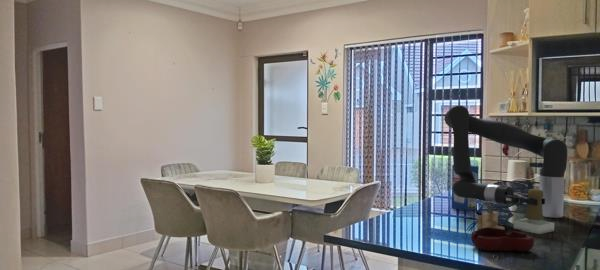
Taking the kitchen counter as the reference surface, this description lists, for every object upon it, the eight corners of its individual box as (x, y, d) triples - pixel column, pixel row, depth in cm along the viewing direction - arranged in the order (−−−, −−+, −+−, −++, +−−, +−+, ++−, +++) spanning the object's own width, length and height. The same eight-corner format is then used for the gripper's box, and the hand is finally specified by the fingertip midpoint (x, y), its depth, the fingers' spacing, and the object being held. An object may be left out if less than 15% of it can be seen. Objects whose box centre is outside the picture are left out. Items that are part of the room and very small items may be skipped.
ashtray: (512, 241, 159) (512, 227, 159) (538, 255, 143) (538, 239, 143) (460, 241, 159) (460, 226, 158) (480, 255, 142) (480, 238, 142)
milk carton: (451, 207, 219) (452, 164, 219) (461, 206, 222) (462, 164, 221) (467, 211, 210) (468, 166, 210) (477, 210, 213) (478, 166, 212)
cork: (545, 220, 172) (547, 190, 172) (527, 219, 173) (529, 189, 173) (540, 217, 178) (542, 188, 178) (523, 216, 179) (524, 187, 179)
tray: (528, 225, 183) (528, 217, 183) (554, 230, 175) (554, 222, 175) (513, 228, 178) (513, 220, 177) (539, 234, 169) (539, 225, 169)
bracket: (493, 226, 181) (493, 202, 181) (505, 228, 177) (506, 205, 176) (477, 228, 176) (478, 204, 175) (490, 231, 171) (491, 207, 171)
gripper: (488, 186, 184) (530, 193, 169) (510, 184, 192) (552, 190, 177) (487, 205, 184) (529, 214, 170) (509, 202, 192) (551, 210, 178)
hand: (541, 202), depth 174 cm, fingers closed on cork, 4 cm apart
